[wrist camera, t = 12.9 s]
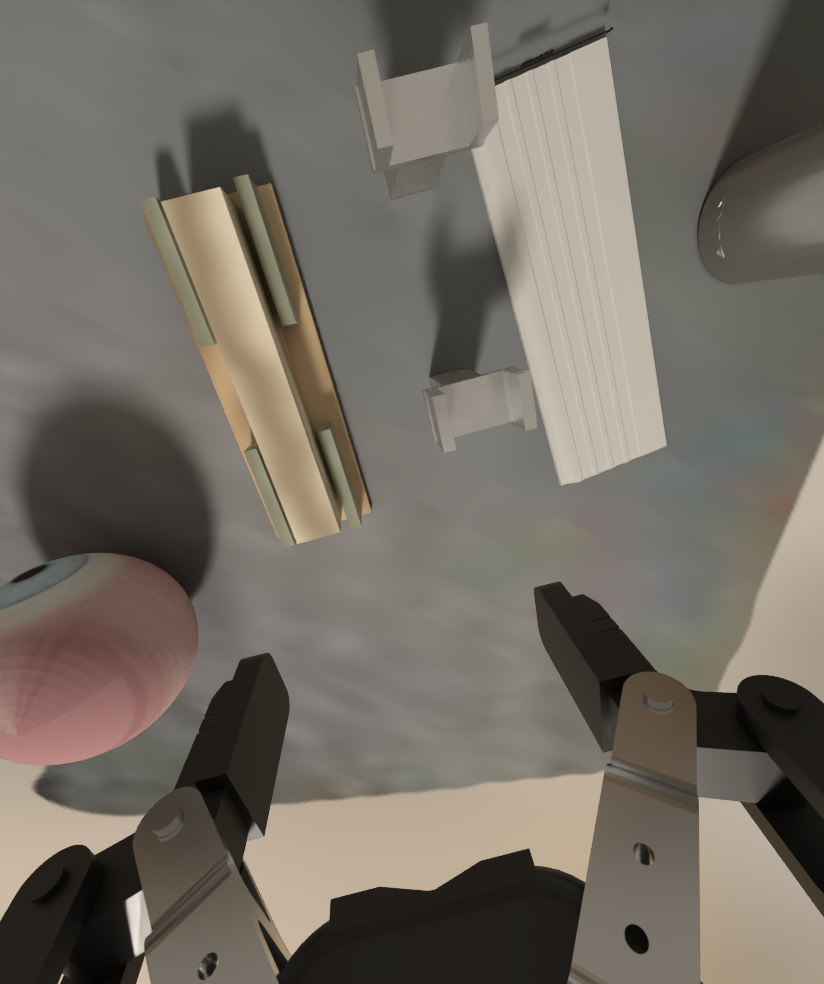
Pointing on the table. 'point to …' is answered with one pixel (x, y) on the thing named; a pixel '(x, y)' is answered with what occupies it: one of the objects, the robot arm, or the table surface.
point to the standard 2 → (478, 402)
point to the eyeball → (89, 655)
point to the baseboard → (573, 260)
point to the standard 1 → (426, 114)
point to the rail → (256, 356)
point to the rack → (298, 337)
